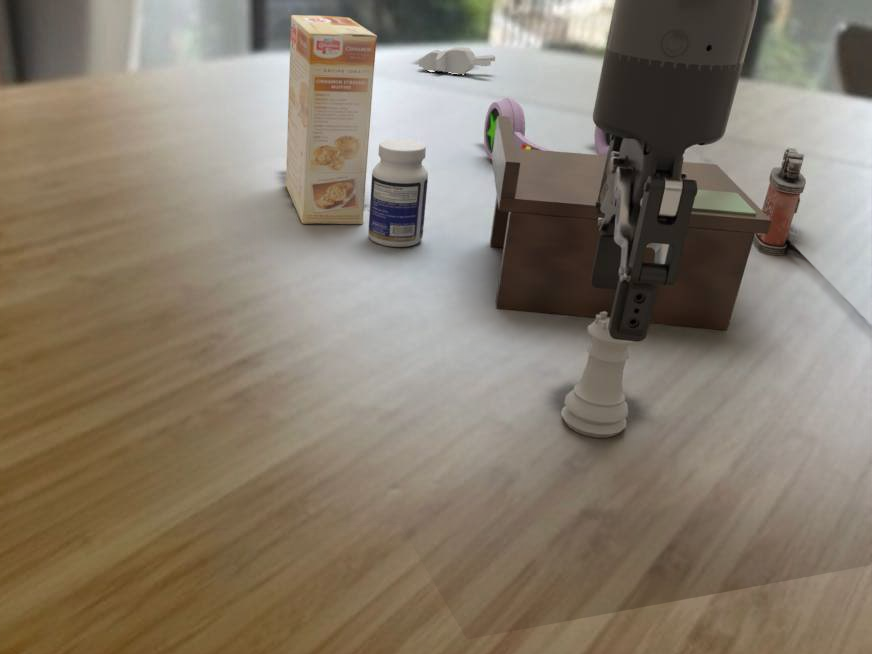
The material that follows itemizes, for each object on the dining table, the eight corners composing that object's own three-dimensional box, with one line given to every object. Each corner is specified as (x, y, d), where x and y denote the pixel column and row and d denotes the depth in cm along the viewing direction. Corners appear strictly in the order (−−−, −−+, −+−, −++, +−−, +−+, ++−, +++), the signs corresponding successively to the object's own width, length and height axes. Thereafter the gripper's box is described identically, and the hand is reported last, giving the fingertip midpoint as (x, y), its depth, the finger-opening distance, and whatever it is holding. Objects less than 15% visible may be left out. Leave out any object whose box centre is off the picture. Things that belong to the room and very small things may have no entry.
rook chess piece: (638, 436, 62) (665, 330, 58) (580, 443, 61) (604, 335, 57) (603, 404, 66) (626, 303, 62) (548, 410, 64) (568, 307, 61)
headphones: (618, 99, 129) (692, 111, 111) (608, 169, 133) (678, 192, 114) (486, 95, 126) (539, 108, 107) (479, 168, 129) (530, 191, 111)
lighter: (788, 257, 97) (817, 163, 92) (754, 252, 97) (781, 159, 93) (781, 234, 103) (808, 146, 98) (749, 230, 104) (774, 142, 99)
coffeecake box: (365, 225, 99) (379, 34, 89) (300, 225, 97) (307, 32, 88) (341, 185, 111) (351, 15, 102) (284, 185, 110) (288, 13, 101)
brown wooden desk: (692, 259, 94) (724, 133, 88) (739, 331, 78) (783, 184, 72) (480, 240, 96) (497, 115, 90) (484, 307, 80) (505, 161, 74)
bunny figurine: (425, 46, 192) (496, 44, 187) (426, 72, 194) (496, 70, 190) (415, 52, 184) (489, 50, 179) (415, 78, 186) (488, 77, 182)
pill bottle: (386, 226, 98) (394, 134, 94) (431, 239, 96) (442, 144, 91) (357, 239, 94) (363, 143, 89) (403, 252, 91) (413, 154, 87)
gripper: (782, 74, 45) (699, 365, 52) (711, 37, 57) (652, 277, 65) (628, 62, 45) (568, 352, 53) (591, 28, 58) (547, 267, 65)
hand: (614, 310), depth 59 cm, fingers open, 8 cm apart
